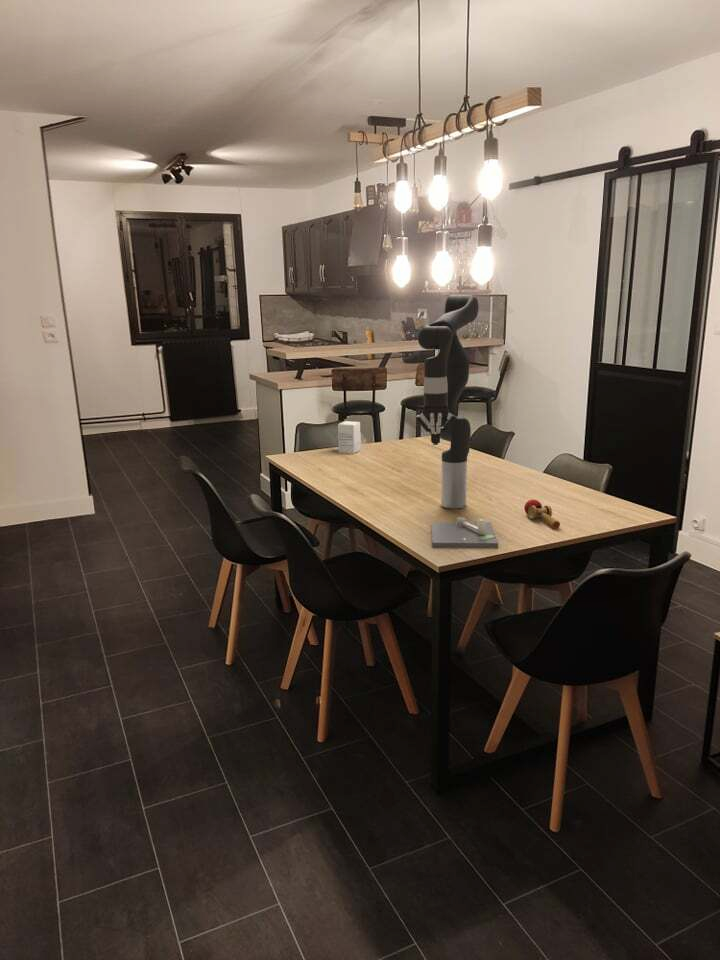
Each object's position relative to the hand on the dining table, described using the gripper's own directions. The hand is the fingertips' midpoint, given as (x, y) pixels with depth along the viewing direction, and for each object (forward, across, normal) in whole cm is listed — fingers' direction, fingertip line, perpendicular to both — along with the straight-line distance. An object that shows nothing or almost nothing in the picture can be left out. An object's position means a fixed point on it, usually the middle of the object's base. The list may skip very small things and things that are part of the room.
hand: (435, 444), depth 218 cm
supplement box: (+30, -38, +118) cm, 128 cm away
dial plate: (+29, +8, -8) cm, 31 cm away
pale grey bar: (+27, +11, -6) cm, 30 cm away
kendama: (+30, +37, +8) cm, 48 cm away
